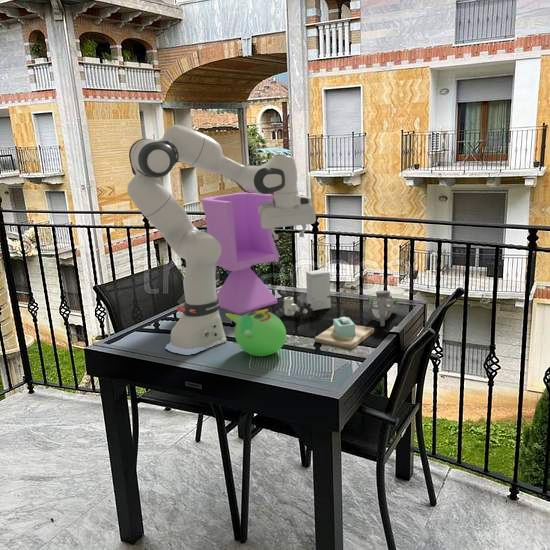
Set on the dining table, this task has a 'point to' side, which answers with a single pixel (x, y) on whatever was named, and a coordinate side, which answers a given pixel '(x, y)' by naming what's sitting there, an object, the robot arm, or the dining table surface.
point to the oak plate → (346, 342)
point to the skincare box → (318, 289)
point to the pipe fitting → (374, 312)
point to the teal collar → (344, 328)
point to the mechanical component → (382, 306)
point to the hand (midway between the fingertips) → (289, 238)
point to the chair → (241, 249)
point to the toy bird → (259, 332)
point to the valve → (296, 308)
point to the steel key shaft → (344, 320)
